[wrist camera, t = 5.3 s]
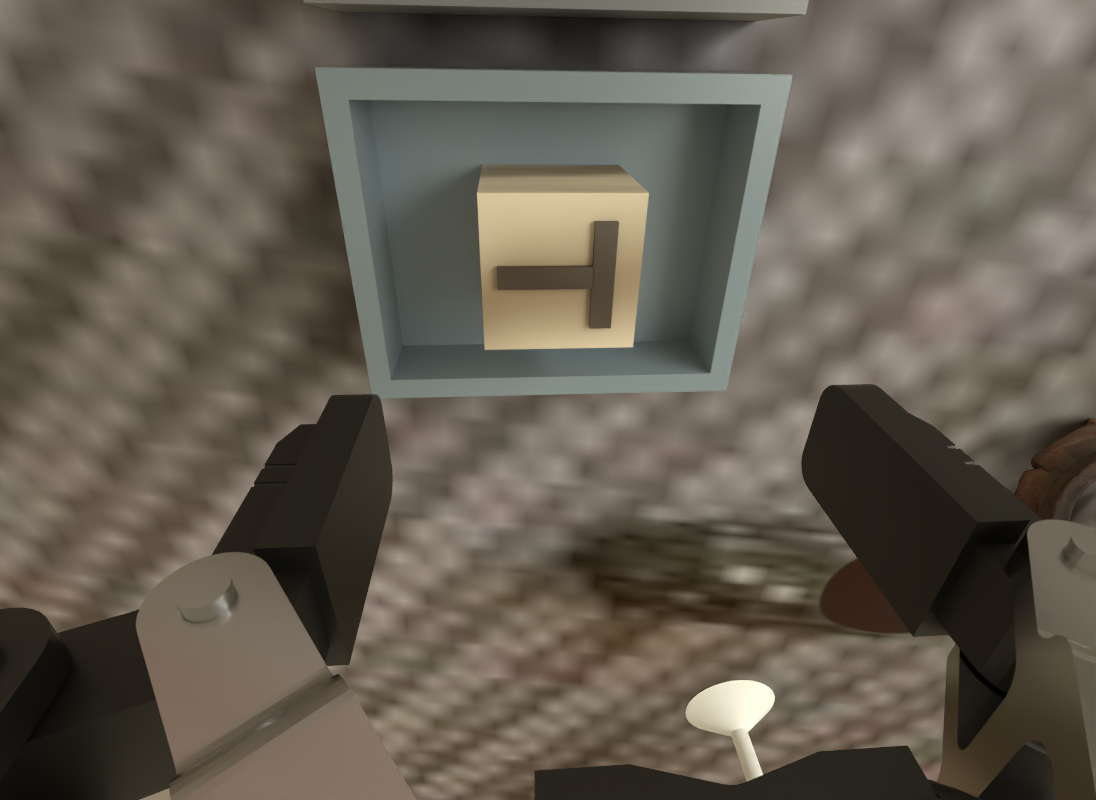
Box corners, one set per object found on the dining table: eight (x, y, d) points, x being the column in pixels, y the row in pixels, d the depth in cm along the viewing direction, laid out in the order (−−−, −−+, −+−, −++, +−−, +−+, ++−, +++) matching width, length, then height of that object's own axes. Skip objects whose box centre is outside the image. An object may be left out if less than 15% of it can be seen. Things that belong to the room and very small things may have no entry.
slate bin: (345, 65, 19) (314, 67, 16) (748, 72, 20) (792, 74, 17) (388, 356, 25) (372, 398, 22) (699, 350, 26) (726, 390, 23)
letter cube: (482, 164, 20) (476, 194, 16) (618, 164, 21) (650, 194, 16) (488, 295, 23) (484, 352, 18) (609, 293, 23) (634, 349, 19)
